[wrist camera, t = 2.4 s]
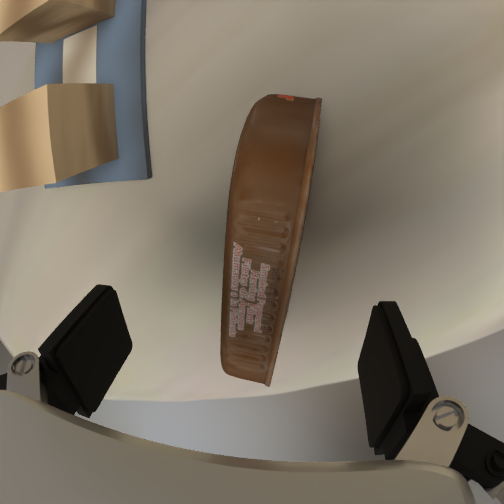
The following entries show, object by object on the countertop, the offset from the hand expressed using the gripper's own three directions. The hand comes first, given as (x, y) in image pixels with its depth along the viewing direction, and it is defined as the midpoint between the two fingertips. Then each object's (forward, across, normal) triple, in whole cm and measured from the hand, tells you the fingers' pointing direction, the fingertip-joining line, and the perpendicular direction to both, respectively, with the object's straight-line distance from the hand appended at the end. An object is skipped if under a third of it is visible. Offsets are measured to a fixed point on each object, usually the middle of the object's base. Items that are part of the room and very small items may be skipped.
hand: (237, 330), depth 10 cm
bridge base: (+10, +12, -12) cm, 20 cm away
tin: (+10, -1, 0) cm, 10 cm away
